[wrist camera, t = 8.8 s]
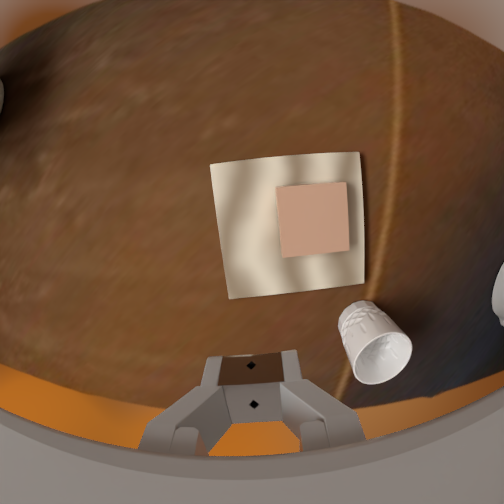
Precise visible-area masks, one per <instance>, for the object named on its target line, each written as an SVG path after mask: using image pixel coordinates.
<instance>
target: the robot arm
mask: <svg viewBox="0 0 504 504" xmlns="http://www.w3.org/2000/svg"><path fill="white" fill-rule="evenodd" d="M492 307H493V311H494V313H495V314H496V315H497V316H498V317H499V319H500V324H501V325H502V326H504V263H503V265H502V266H501V268H500V271H499V273H498V275H497V278H496V281H495V285H494V289H493V294H492ZM267 421H283V422H284V423H285V425H286V426H287V427H288V428H289V429H290V430H291V431H292V432H293V433H294V434H295V435H296V437H298V439H299V440H300V452H296V453H287V454H276V455H261V456H230V457H229V456H226V457H225V456H209V454H208V452H209V451H210V450H211V449H212V448H213V447H214V445H215V444H216V443H217V442H218V441H219V439H220V438H221V437H222V436H223V435H224V434H225V432H226V431H227V430H228V429H229V428H230V426H231V424H234V423H249V422H267ZM0 504H504V386H503V387H501V388H500V389H498V390H496V391H494V392H492V393H490V394H488V395H487V396H485V397H483V398H481V399H479V400H477V401H475V402H472V403H470V404H468V405H466V406H464V407H462V408H460V409H457V410H455V411H453V412H450V413H448V414H446V415H443V416H441V417H438V418H435V419H433V420H431V421H428V422H425V423H422V424H419V425H416V426H413V427H411V428H407V429H404V430H401V431H398V432H394V433H391V434H388V435H384V436H380V437H377V438H373V439H369V440H366V438H365V435H364V433H363V430H362V427H361V424H360V421H359V418H358V415H357V413H356V412H355V411H353V410H352V409H350V408H349V407H347V406H346V405H344V404H343V403H341V402H340V401H338V400H337V399H335V398H334V397H332V396H331V395H329V394H328V393H326V392H325V391H323V390H322V389H320V388H319V387H317V386H316V385H314V384H313V383H312V382H310V381H309V380H307V379H305V380H303V379H302V374H301V369H300V365H299V360H298V355H297V351H296V350H289V351H282V352H277V353H268V354H257V355H234V356H209V357H208V358H207V361H206V365H205V369H204V373H203V377H202V382H201V386H197V387H195V388H194V389H192V390H191V391H190V392H188V393H187V394H186V395H185V396H183V397H182V398H181V399H179V400H178V401H177V402H175V403H174V404H173V405H171V406H170V407H169V408H167V409H166V410H165V411H163V412H162V413H161V414H159V415H158V416H157V417H155V418H154V419H153V420H151V421H150V422H148V423H147V426H146V428H145V431H144V434H143V436H142V439H141V441H140V444H139V447H138V449H132V448H126V447H121V446H116V445H111V444H106V443H102V442H98V441H94V440H90V439H86V438H82V437H78V436H74V435H71V434H68V433H64V432H61V431H58V430H55V429H52V428H49V427H46V426H44V425H41V424H38V423H35V422H33V421H30V420H28V419H25V418H23V417H20V416H18V415H16V414H13V413H11V412H8V411H6V410H4V409H2V408H0Z"/></svg>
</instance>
